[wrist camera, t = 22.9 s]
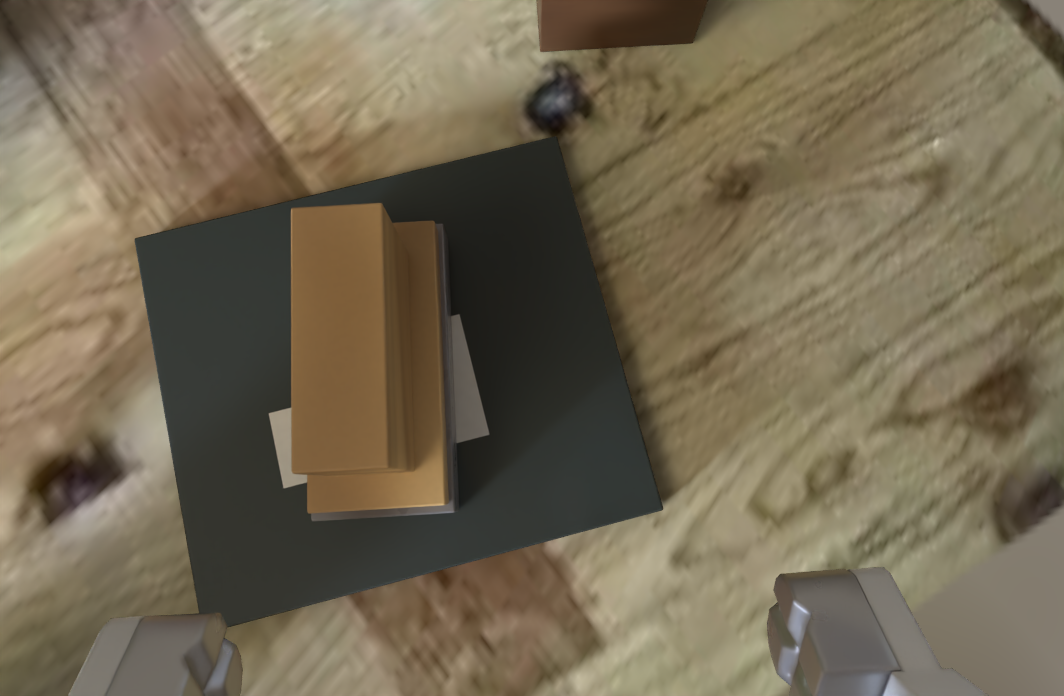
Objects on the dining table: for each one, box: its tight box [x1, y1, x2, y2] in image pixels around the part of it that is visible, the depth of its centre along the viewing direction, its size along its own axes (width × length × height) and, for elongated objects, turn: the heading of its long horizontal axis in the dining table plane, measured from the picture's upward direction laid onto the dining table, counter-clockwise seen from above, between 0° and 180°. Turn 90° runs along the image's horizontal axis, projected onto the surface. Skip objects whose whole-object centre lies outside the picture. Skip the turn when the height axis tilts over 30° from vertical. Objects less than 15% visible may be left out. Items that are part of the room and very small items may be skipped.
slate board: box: [135, 137, 663, 627], centre depth 31 cm, size 18×16×1 cm
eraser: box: [291, 203, 459, 521], centre depth 26 cm, size 5×11×8 cm, turn 3°
